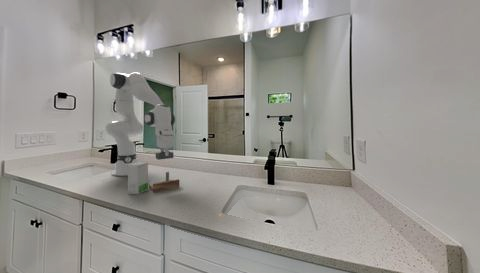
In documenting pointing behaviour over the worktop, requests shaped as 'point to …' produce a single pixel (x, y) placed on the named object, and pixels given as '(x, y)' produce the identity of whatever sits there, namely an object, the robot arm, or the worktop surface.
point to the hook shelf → (164, 184)
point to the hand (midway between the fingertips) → (164, 155)
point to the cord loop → (164, 155)
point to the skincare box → (137, 177)
